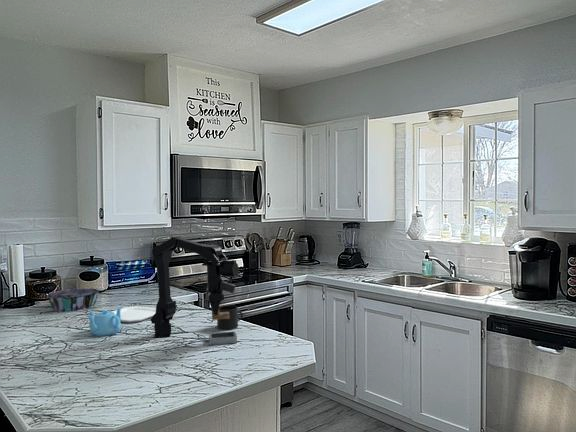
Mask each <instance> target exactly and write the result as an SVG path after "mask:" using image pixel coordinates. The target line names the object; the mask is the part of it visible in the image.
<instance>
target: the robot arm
mask: <svg viewBox="0 0 576 432" xmlns="http://www.w3.org/2000/svg"><path fill="white" fill-rule="evenodd" d="M177 248H179V249H182V250H185V251H189V252H192V253H194V254H198V255H199V256H200V257H201V258H202V259H205V260H204V262H203V263H202V264H201V265H202V266H206V276H207V278H206V281H207V283H206V284H207V288H206V294H207V295H206V296H207V301H208V302H209V303H208V304H209V305H210V308H211V311H212V310H213V312H214V315H217V314H218V308H219V307H220V303H222V301H224V300H225V295H224V293H223V292H229V293H230V294H234V293H235V289H236V285H235V283H232V282H233V281H232V280H231V279H227V280H226V281H223V279H222V277H223V278H225V277H226V278H228V277H229V278H237V277H238V276H239V272H240V267H239V265H238V263H237V260H236V259H231V260H229V259H228V257H226V255H225V254H224V252H223V249H222V247H221V246H219V245H216V244H204V243H203V244H202V243H199V242H196V241H194V240H189V239H187V238H183V237H182V236H178V235H177V236H173V237H171V238H169V239H168V240H166V241H164V242H162V243H160V244H157V245H154V246H153V247H152V250H151V255H152V259H153V261H154V263H155V265H156V273H157V287H158V301H157V303H156V306H155V308H156V313H155V314H154V315H153V316H152V317H150V322H151V324H154V337H153V338H155V339H156V338H168V337H171V335H172V323H170V321H171V320H173V318H174V315H175V314H176V311H177V309H178V307H177V301H176V300H173V298H172V296H171V282H170V281H171V280H170V279H171V278H170V267H169V266H170V265H169V264H170V262H171V259H172V255H173V252H174V251H176V250H177Z"/></svg>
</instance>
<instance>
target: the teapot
mask: <svg viewBox="0 0 576 432" xmlns="http://www.w3.org/2000/svg"><path fill="white" fill-rule="evenodd" d="M121 308H123V306H122V305H120V306H119V307H118V308H117V309H116V310H117V313H116V314H115V313H114V312H112V311H109V309H103V310H101V312H99V313H97V314H96V315H95V313H94V311H93V310H91V309H87V311H88V313H89V315H87V316H86V317H88V318H89V326H88V327H89V332H90V333H91V334H92V335H93V336H95V337H96V336H98V337H105V336H112V335H115V334H117V333H119V332H120V331H121V329H122V322H120V320H121V314H120V311H121Z"/></svg>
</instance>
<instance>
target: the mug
mask: <svg viewBox="0 0 576 432" xmlns="http://www.w3.org/2000/svg"><path fill="white" fill-rule="evenodd" d="M219 308H220V312H229V314H230V319H219V320H216V321H217V323H216V325H217V326H216V327H217V329H219V330H225V331H228V330H235V329H237V328H238V326H239V321H241V320H242V319H243V318H244V317H243V316H244V315H243V312H242V311H241V310H238V306H236V305H221V306H220V305H219ZM238 314H240V318H239V317H238V316H239V315H238Z"/></svg>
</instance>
